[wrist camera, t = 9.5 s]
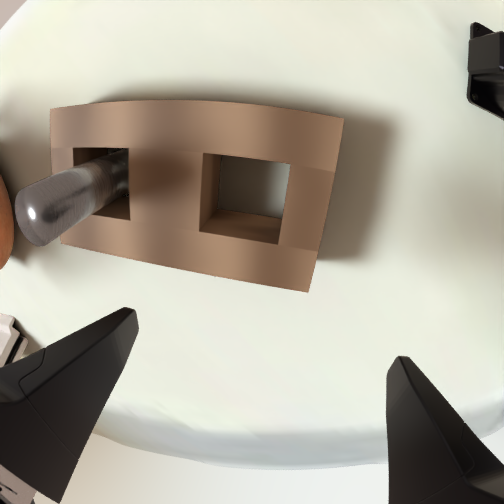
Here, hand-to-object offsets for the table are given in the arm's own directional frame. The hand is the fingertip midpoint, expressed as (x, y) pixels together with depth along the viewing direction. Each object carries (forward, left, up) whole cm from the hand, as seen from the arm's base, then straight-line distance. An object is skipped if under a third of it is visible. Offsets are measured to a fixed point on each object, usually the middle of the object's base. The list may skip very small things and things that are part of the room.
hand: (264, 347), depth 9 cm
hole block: (+7, -2, -12) cm, 14 cm away
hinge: (+43, +26, -12) cm, 52 cm away
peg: (+11, -2, -12) cm, 17 cm away
